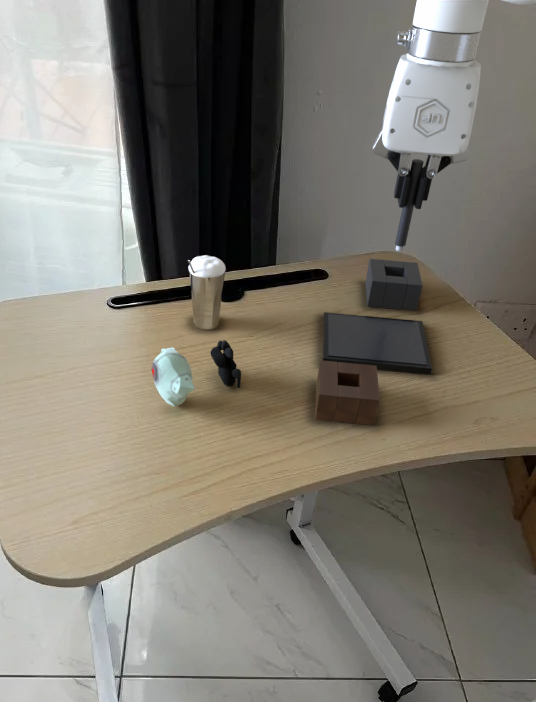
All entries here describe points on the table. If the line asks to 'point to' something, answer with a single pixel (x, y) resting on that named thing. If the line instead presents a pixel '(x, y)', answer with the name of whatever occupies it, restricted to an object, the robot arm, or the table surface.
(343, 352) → the tablet
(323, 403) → the pen stand
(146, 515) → the table surface
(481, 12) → the robot arm
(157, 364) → the robot head
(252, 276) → the table surface
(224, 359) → the wireless earbuds
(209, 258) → the milkshake
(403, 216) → the stylus
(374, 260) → the dock
